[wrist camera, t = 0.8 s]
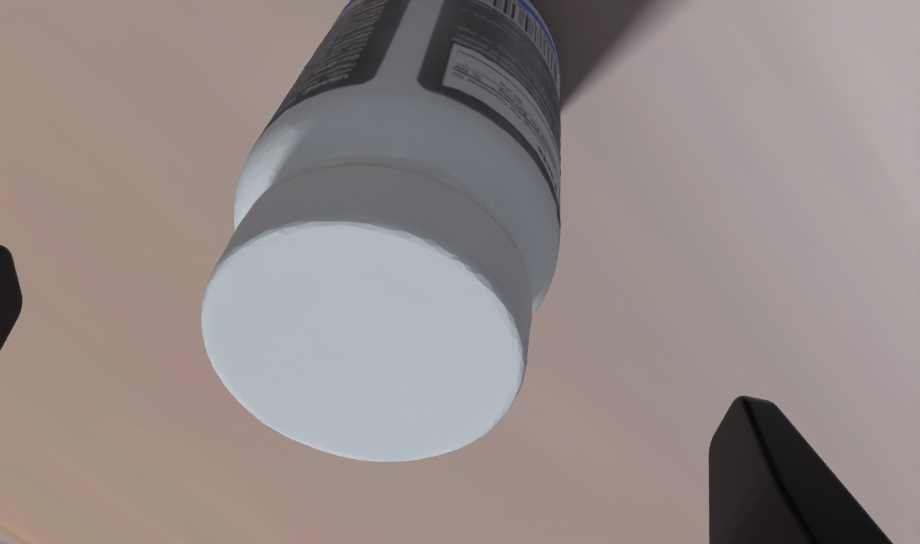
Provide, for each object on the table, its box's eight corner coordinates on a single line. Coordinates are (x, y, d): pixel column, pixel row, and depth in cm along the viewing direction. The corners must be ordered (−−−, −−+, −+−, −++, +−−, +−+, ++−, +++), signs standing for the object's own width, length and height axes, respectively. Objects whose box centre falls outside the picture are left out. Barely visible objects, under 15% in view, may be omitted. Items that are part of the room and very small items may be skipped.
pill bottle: (348, 172, 18) (214, 472, 11) (316, -44, 15) (107, 186, 8) (558, 176, 17) (552, 495, 10) (567, -48, 14) (565, 196, 8)
